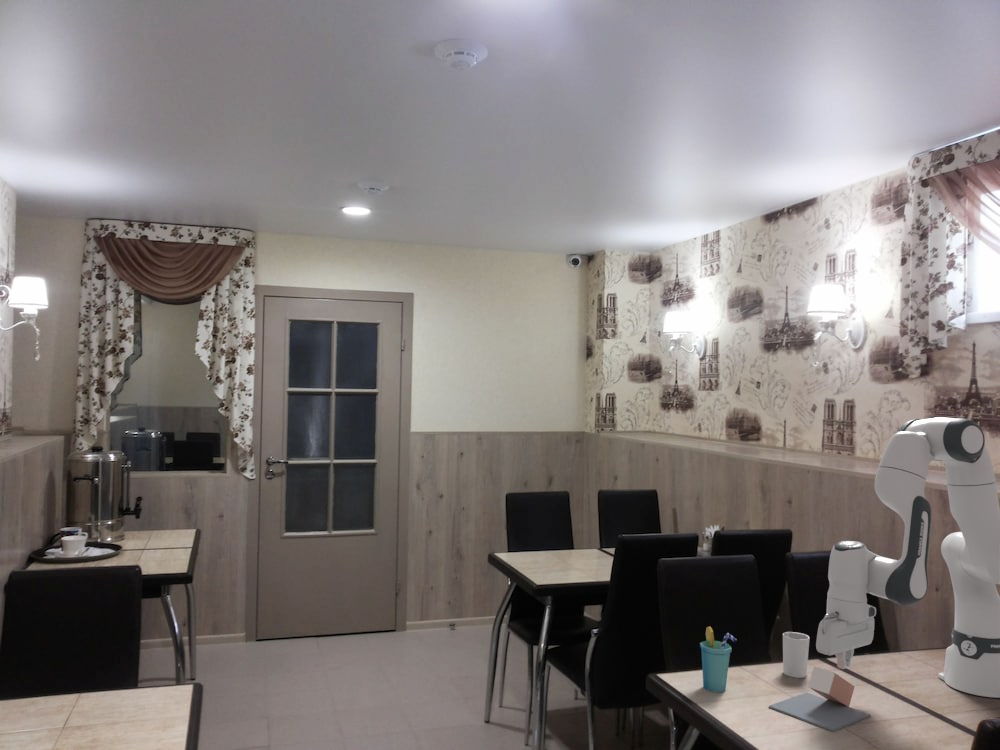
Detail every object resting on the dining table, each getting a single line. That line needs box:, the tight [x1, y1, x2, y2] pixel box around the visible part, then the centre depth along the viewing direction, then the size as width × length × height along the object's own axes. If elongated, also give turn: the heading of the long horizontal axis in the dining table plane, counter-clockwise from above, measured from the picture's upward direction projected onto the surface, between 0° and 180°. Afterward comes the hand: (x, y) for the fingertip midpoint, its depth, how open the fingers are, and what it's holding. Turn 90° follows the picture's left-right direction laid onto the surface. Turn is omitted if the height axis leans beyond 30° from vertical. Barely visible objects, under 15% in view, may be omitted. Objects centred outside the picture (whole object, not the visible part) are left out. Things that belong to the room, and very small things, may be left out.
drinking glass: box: [782, 631, 810, 679], centre depth 215 cm, size 7×7×10 cm
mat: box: [768, 691, 871, 733], centre depth 189 cm, size 16×16×1 cm
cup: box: [699, 626, 738, 693], centre depth 201 cm, size 14×8×15 cm, turn 20°
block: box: [807, 665, 855, 707], centre depth 192 cm, size 5×5×11 cm
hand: (843, 667), depth 196 cm, fingers closed
